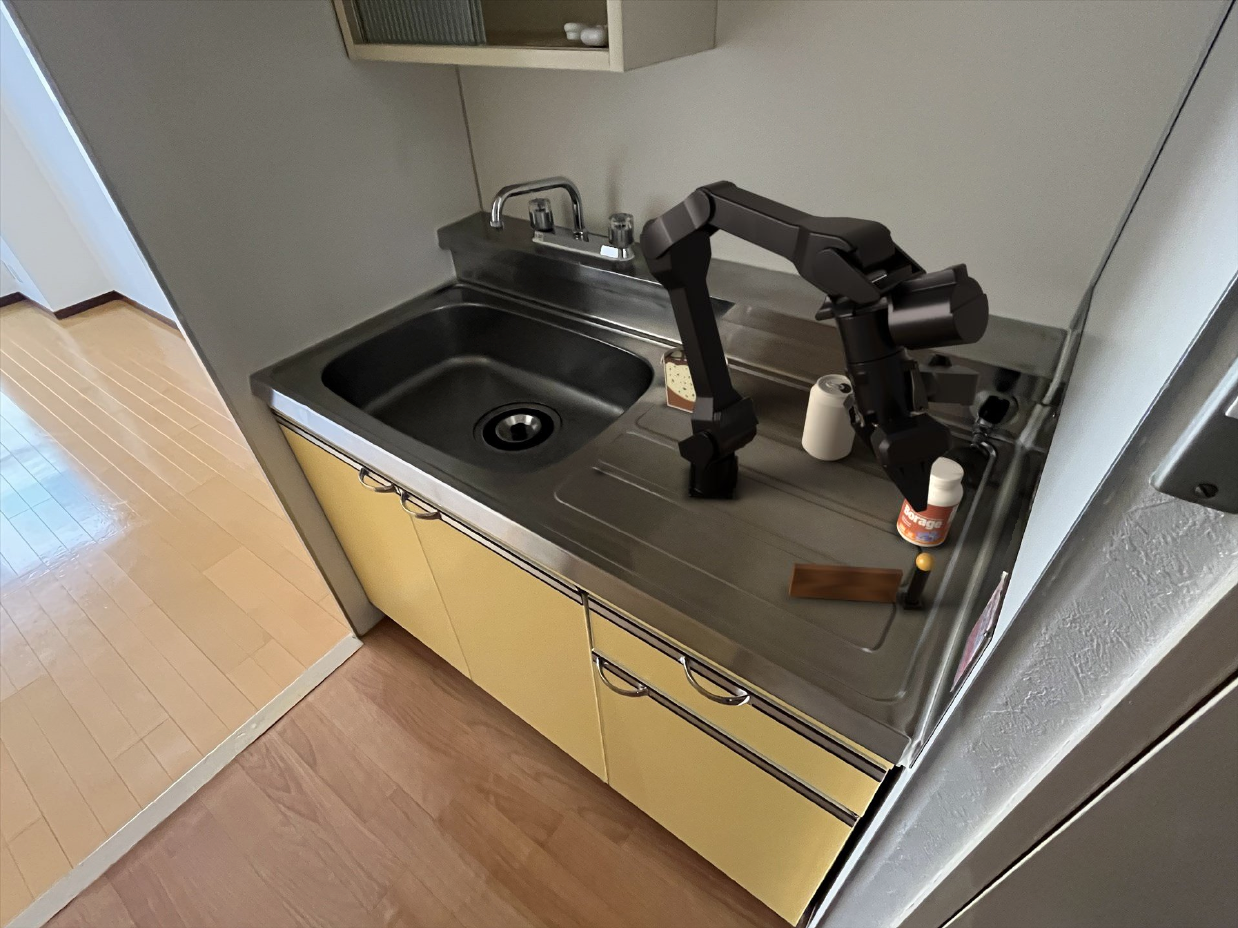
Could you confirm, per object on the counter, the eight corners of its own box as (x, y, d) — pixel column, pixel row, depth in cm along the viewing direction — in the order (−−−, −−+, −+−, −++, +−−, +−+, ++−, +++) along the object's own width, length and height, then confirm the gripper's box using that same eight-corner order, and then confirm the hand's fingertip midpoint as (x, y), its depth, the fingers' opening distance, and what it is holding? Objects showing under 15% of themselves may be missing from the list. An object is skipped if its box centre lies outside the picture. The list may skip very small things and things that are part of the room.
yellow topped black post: (903, 609, 76) (921, 561, 71) (899, 596, 78) (916, 548, 73) (921, 610, 76) (940, 562, 71) (917, 597, 78) (935, 549, 73)
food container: (738, 405, 112) (743, 354, 106) (723, 422, 108) (727, 370, 102) (676, 387, 118) (677, 337, 111) (660, 403, 114) (660, 352, 107)
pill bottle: (888, 534, 86) (908, 470, 79) (906, 510, 90) (926, 446, 83) (935, 555, 83) (960, 490, 76) (952, 529, 86) (977, 465, 80)
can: (852, 466, 98) (868, 399, 90) (801, 461, 99) (813, 395, 92) (848, 437, 104) (863, 372, 96) (800, 433, 105) (811, 369, 97)
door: (789, 596, 78) (794, 568, 75) (788, 586, 79) (793, 558, 76) (893, 602, 77) (903, 574, 74) (890, 592, 78) (900, 563, 75)
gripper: (1000, 341, 53) (1030, 508, 57) (930, 318, 71) (957, 448, 75) (863, 381, 56) (901, 538, 60) (828, 350, 74) (859, 473, 77)
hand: (908, 494), depth 68 cm, fingers open, 9 cm apart
